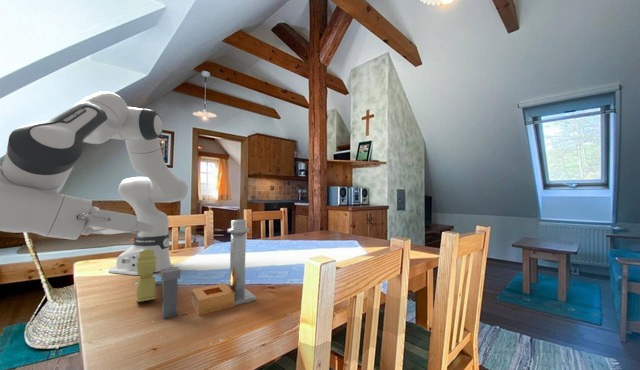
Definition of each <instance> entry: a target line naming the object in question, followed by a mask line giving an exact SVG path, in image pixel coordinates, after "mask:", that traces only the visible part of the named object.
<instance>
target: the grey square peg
mask: <svg viewBox="0 0 640 370" xmlns="http://www.w3.org/2000/svg"><path fill="white" fill-rule="evenodd" d="M160 278H161V281H162V300H161V301H162V302H161V303H162V304H161V305H162V306H161V309H162V310H161V315H162V319H163V320H166V319H170V318H174V317H177V315H178V314H177V313H178V279H180V278H181V269H180V268H179V267H178V266H175V267H170V268H166V269H161V271H160Z"/></svg>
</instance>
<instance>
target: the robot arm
mask: <svg viewBox="0 0 640 370" xmlns="http://www.w3.org/2000/svg"><path fill="white" fill-rule="evenodd" d="M163 125H164V124H163V120H162V117H161V116H160V115H159V113H158V112H157V111H155V110H153V109H148V108H139V107H132V106H128V104H127V102H126V101H125V100H124V99H123V98H122V97H121V96H120V95H118V94H117V93H114V92H111V91H104V90H103V91H99V92H95V93H93V94H91V95H87V96H86V97H84V98H83V99H81V100H80V101H79V102H76V103H75V104H74V105H73V106H71V107H69V108H68V109H66V110H64V111H62V112H61V113H60V114H57V115H56V116H54V117H52V118H50V119H48V120H44V121H40V122H34V123H29V124H26V125H25V124H24V125H22V126H19V127H17V128H15V129H14V130H13V131H12V132H11V133H10V134H9V136H8V141H7V146H6V153H5V156H4V160H3V162H2V165H0V232H5V233H14V234H15V233H17V234H18V233H19V234H20V233H31V234H37V235H40V236H41V237H42V236H43V237H48V238H57V239H67V240H74V241H75V240H78V238H79V237H80V236H81V235H82V236H83V235H84V236H90V234H92V235H115V234H126V233H129V234H130V233H131V234H135V235H136V234H137V236H135V237H132V238H130V239H131V240H130V241H131V242H133V241H134V242H133V243H132V245H131V246H130V247H129V248H127V249H126V250H124V251H123V252H122V253H120V254H119V255H118V257H117V259H116V263H115V266H113V267H111V268H109V269H108V273H111V274H112V273H113V274H121V275H130V276H131V275H132V276H140V274H138V271H137V264H138V258H140V251H143V250H147V249H149V250H153V251H154V256H156V268H155V272H154V273H157V272H161V269H166V268H173V267H172V266H173V264H172V263H171V262H172V261H171V257H170V252H169V246H170V233H169V219H170V218H169V217H168V215H167V213H165V212H163V211H161V210H159V209H158V208H157V207H156V205H155V203H174V202H175V203H176V202H180V201H183V200H184V199H185V198H186V196H187V195H188V189H189V188H188V185H187V182H186V181H185V180H184V179H182V178H180V177H178V176H177V175H176V174H175V173H173V172H172V171H171V170H170V169H169V168H168V166H167V164H166V161H165V158H164V156H163V151H162V147H161V143H160V140H159V139H160V137H161V136H162V133H163V128H164V127H163ZM110 139H112V140H120V141H125V146H126V150H127V154H128V157H129V161H130V164H131V167H132V169H133V170H134V171H135V172H137V173H140V174H141V175H143V176H133V177H127V178H124V179H122V181H120V183H119V186H118V194H119V196H120V197H121V199H122V200H123V201H125V202H126V203H127V204H129V206H130V207H131V208H132V209H133V211H134V213H135V215H134V214H131V213H126V212H125V213H124V212H120V211H119V212H118V211H112V210H107V209H100V207H98V206H94V205H93V201H92V199H88V198H83V197H78V196H73V195H68V194H64V193H60V192H61V191H62V189H63V187H64V186H65V184H66V181H67V180H68V178H69V176H70V175H71V172H72V171H73V168H74V166H75V165H76V164H77V162H79V161H78V160H79V159H80V158H81V156H82V155H83V149H84V148H83V143H87V144H91V145H100V144H103V143H106V142H107V141H109V140H110ZM92 205H93V206H92Z"/></svg>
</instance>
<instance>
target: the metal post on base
mask: <svg viewBox="0 0 640 370" xmlns="http://www.w3.org/2000/svg"><path fill="white" fill-rule="evenodd" d="M246 225H247V220H246V219H231V220H230V228H227V232H226V233H228V234H230V247H229V248H230V249H229V250H230V251H229V252H230V253H229V254H230V258H229V259H230V260H229V261H230V263H229V270H230V271H229V286H228V285H227V284H226V283H225V282H223V283H218V284H213V285H209V286H203V287H198V288H193V289H191V300H190V301H191V305H192V306H193V308H194V310H195V312H196V314H197V315H198V316H202V315H208V314H211V313H215V312H219V311H223V310H226V309H230V308H233V307H235V306H237V305H242V304H246V303H249V302H252V301H256V300H257V296H256V295H254V294H253V293H252V292H251V291H249V290H248V289H247V288H246V239H247V238H246V237H247V236H246V233H249V232H250V228H249V227H247V226H246Z"/></svg>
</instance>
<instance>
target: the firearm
mask: <svg viewBox="0 0 640 370" xmlns="http://www.w3.org/2000/svg"><path fill="white" fill-rule="evenodd" d="M155 268H156V256H154V251H153V250H149V249H147V250H143V251H140V258H138V264H137V271H138V274H140V275H139V278H138V280H137V285H136V286H137V287H136V300H135V301H136V303H139V302H144V301H150V300H155V299H156V278H155V277H154V273H156V272H155Z"/></svg>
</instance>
